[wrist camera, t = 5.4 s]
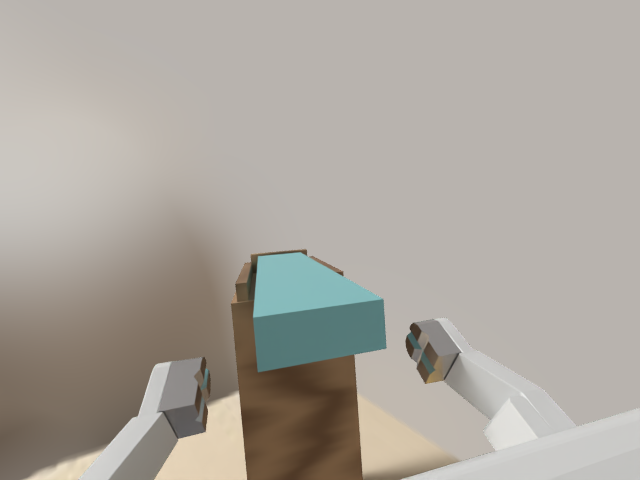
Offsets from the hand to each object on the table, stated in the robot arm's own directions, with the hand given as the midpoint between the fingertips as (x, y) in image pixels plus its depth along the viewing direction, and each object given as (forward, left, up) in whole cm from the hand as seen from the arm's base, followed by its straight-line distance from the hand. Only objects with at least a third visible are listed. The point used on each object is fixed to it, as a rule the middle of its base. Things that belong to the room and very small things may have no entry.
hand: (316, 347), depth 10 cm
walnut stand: (+8, +11, -26) cm, 29 cm away
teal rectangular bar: (+5, +7, 0) cm, 9 cm away
